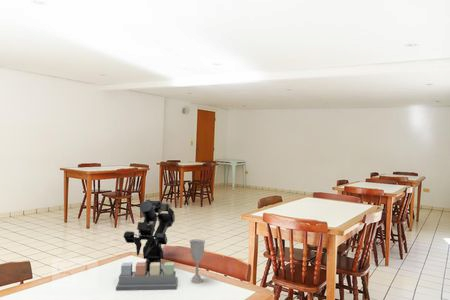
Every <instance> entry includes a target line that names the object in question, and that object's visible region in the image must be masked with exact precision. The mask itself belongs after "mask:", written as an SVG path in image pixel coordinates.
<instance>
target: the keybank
mask: <svg viewBox="0 0 450 300" xmlns="http://www.w3.org/2000/svg"><path fill="white" fill-rule="evenodd" d="M176 273H177V271H176V270H174V275H168V276H164V270H162V271H160V276H150V271H149V272H147V271H146V276H136V271H132V276H121V273H119V275H118V283H117V284H116V286H115V291H152V290H153V291H157V290H162V291H163V290H167V291H168V290H177V289H178V276H176V275H177V274H176Z"/></svg>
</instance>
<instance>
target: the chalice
mask: <svg viewBox="0 0 450 300" xmlns="http://www.w3.org/2000/svg"><path fill="white" fill-rule="evenodd" d="M188 242H189V243H190V255H191V257H192V260H193V261H194V262H195V270H194V271H195V275H193V276H192V279H191V280H190V282H191V283H193V284H200V283H202V282H203V279H202V276H201V275H200V274H199V271H200V270H199V266H200V265H199V262H201V261H202V259H203V256H204V254H205V243H206V240H204V239H201V238H197V239H195V238H194V239H190V240H189V241H188Z"/></svg>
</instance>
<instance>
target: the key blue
mask: <svg viewBox="0 0 450 300" xmlns="http://www.w3.org/2000/svg"><path fill="white" fill-rule="evenodd" d="M132 272H133V262H123V263H122V264H121V266H120V274H121V276H132Z"/></svg>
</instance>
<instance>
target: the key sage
mask: <svg viewBox="0 0 450 300" xmlns="http://www.w3.org/2000/svg"><path fill="white" fill-rule="evenodd" d="M163 271H164V276H168V275H174V271H175V261H174V262H173V261H169V262H168V261H164V264H163Z"/></svg>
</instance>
